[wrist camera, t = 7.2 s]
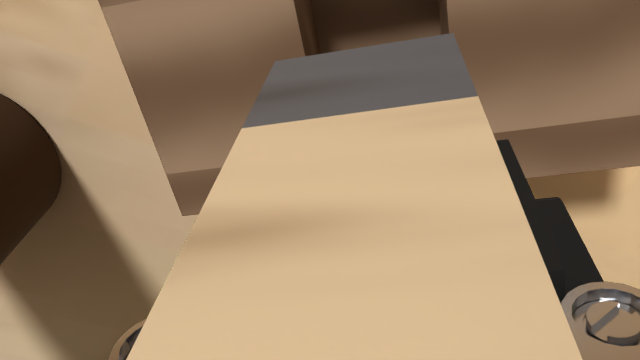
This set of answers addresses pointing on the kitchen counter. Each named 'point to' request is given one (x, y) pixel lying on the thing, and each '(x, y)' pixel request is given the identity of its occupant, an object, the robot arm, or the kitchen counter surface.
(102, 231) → the kitchen counter surface
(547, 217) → the robot arm
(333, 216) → the beige upright block
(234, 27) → the slotted wooden tray
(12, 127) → the olive oil
